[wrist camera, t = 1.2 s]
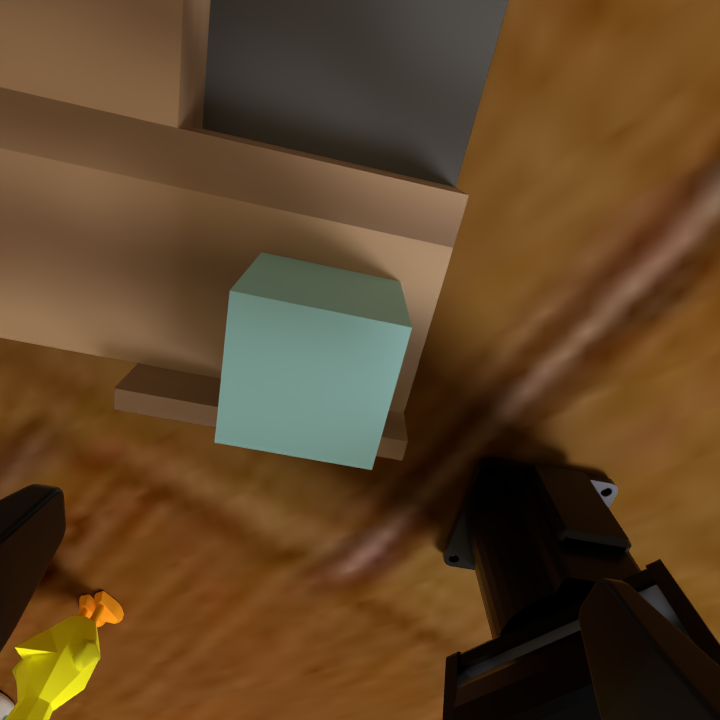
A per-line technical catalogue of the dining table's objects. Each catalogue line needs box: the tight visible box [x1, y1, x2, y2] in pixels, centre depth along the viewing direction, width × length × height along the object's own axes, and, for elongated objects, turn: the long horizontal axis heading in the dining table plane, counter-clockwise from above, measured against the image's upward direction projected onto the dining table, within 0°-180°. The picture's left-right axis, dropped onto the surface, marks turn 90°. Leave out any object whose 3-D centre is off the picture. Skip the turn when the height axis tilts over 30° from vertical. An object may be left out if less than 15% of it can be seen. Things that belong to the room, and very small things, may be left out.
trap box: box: [0, 0, 509, 461], centre depth 14 cm, size 16×25×4 cm, turn 78°
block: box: [215, 252, 412, 470], centre depth 14 cm, size 4×4×4 cm
